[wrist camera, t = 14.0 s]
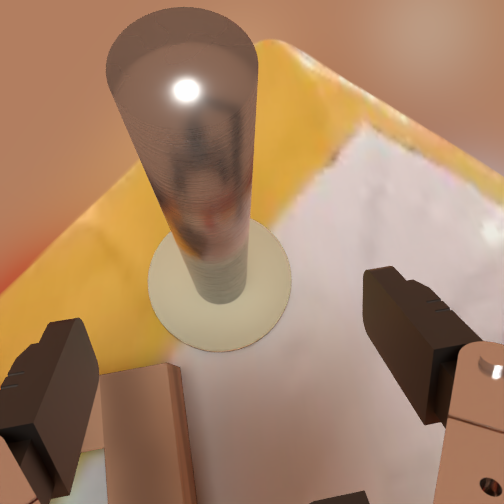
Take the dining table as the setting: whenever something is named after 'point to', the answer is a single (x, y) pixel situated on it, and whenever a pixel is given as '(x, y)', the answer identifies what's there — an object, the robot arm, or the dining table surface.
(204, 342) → the mat
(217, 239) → the metallic grey cylinder
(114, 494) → the brown square frame
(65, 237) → the dining table surface
